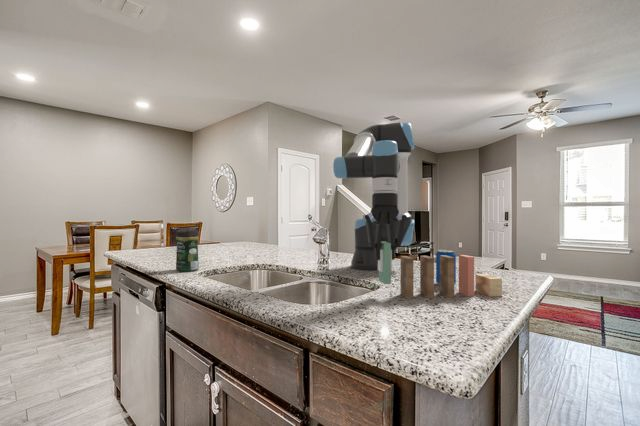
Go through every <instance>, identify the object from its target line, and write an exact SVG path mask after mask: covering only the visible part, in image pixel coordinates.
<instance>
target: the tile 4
mask: <svg viewBox="0 0 640 426" xmlns="http://www.w3.org/2000/svg"><path fill="white" fill-rule="evenodd" d="M439 294H441V295H443V296H444V297H447V298H455V284H454V257H450V256H447V255H440V285H439Z"/></svg>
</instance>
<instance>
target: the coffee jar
mask: <svg viewBox="0 0 640 426" xmlns="http://www.w3.org/2000/svg"><path fill="white" fill-rule="evenodd" d="M175 233H176V234H175V242H176V255H175V257H176V258H175V270H176V271H178V270H179V272H183V271H184V272H185V271H187V272H190V271H192V272H195V271H198V270H199V268H200V266H199V265H200V264H199V245H198V244H199V243H198V242H199V231H198V230H197V229H195V228H189V227H187V228H179V229H177V230H176V232H175ZM184 272H183V273H184ZM185 273H186V272H185Z"/></svg>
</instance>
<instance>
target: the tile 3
mask: <svg viewBox="0 0 640 426" xmlns="http://www.w3.org/2000/svg"><path fill="white" fill-rule="evenodd" d="M419 258H420V259H419V265H420V266H419V268H420V269H419V271H420V272H419V273H420V275H419V276H420V277H419V280H420V281H419V286H420V287H419V288H420V291H419V292H420V293H419V294H420V295H422V296H423V297H426V298H427V299H434V298H435V258H434V257H433V256H429V255H419Z"/></svg>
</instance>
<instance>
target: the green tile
mask: <svg viewBox="0 0 640 426" xmlns="http://www.w3.org/2000/svg"><path fill="white" fill-rule="evenodd" d="M380 249H382V250H383V272H380V271H379V270H378V281H379V282H381V283H382V284H384V285H391V284H392V271H391V243H388V242H381V248H380Z"/></svg>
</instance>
